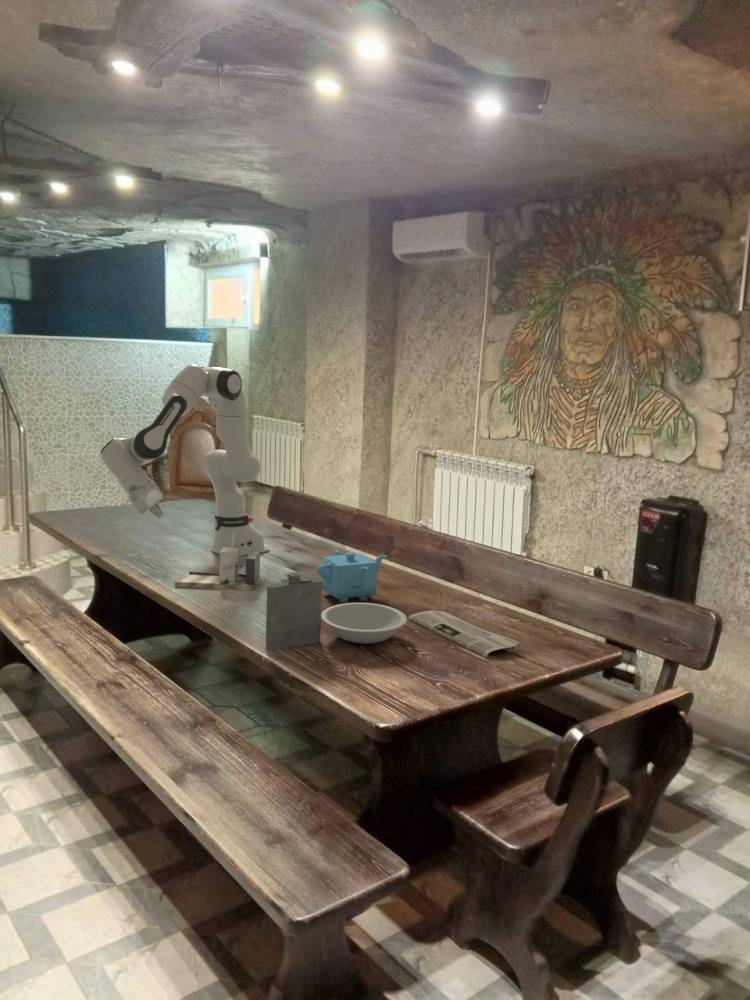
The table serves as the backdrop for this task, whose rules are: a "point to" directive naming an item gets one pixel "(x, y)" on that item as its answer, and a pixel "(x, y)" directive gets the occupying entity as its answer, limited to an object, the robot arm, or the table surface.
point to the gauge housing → (229, 564)
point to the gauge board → (213, 581)
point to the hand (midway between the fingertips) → (161, 516)
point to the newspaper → (462, 632)
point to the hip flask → (293, 612)
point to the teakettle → (349, 575)
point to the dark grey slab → (252, 568)
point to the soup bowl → (363, 621)
